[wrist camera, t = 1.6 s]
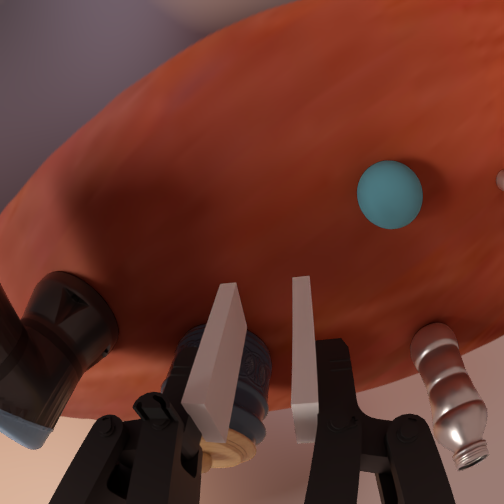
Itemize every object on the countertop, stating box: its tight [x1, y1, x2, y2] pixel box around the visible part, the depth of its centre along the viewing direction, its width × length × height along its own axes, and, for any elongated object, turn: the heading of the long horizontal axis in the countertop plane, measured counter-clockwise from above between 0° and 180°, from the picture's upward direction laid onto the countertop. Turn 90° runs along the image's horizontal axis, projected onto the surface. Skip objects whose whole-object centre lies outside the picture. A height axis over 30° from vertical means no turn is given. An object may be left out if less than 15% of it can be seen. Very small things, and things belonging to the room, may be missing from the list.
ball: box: [357, 161, 423, 229], centre depth 24 cm, size 6×6×6 cm
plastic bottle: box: [410, 323, 489, 471], centre depth 26 cm, size 6×7×20 cm
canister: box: [161, 324, 272, 473], centre depth 32 cm, size 13×13×18 cm
